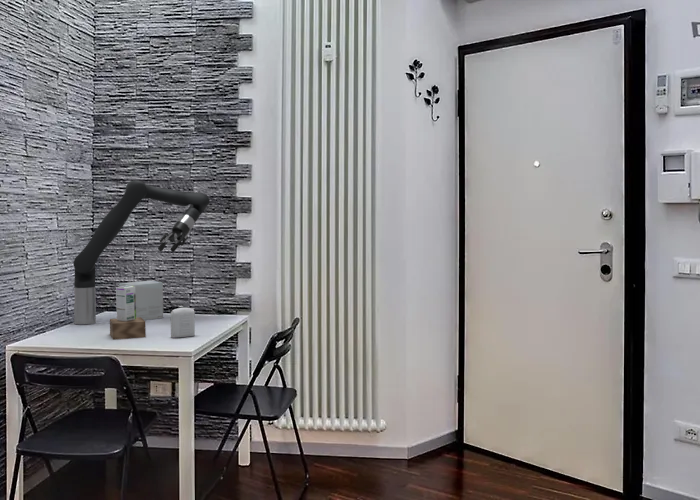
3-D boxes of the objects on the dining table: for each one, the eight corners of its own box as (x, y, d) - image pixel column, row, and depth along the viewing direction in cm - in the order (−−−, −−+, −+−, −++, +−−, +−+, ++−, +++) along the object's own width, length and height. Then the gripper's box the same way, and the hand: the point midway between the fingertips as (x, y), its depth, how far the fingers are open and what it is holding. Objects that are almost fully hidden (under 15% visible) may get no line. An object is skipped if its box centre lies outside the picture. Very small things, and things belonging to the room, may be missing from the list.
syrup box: (126, 321, 284) (125, 287, 283) (116, 320, 287) (115, 286, 285) (136, 319, 289) (135, 285, 288) (126, 318, 292) (126, 284, 290)
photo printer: (192, 334, 291) (192, 306, 291) (196, 336, 288) (196, 307, 287) (169, 337, 285) (169, 308, 285) (173, 338, 282) (172, 309, 281)
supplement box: (150, 315, 345) (150, 280, 344) (164, 318, 336) (163, 282, 335) (118, 319, 333) (118, 282, 332) (131, 322, 324) (131, 284, 323)
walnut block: (113, 340, 279) (112, 323, 279) (110, 335, 291) (109, 319, 291) (145, 338, 285) (145, 321, 284) (141, 333, 296) (141, 317, 296)
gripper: (169, 220, 329) (150, 244, 320) (189, 220, 321) (171, 245, 312) (177, 231, 334) (159, 255, 325) (198, 231, 326) (180, 256, 317)
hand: (165, 250), depth 319 cm, fingers open, 8 cm apart
